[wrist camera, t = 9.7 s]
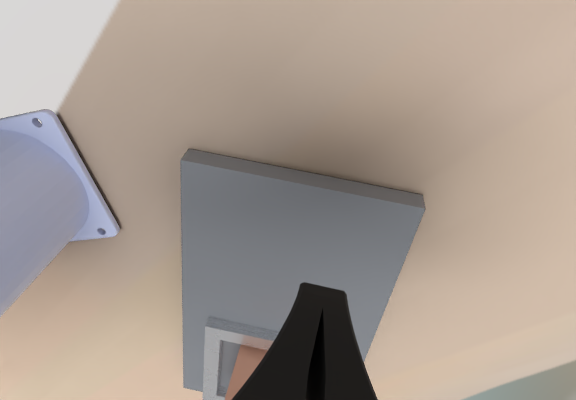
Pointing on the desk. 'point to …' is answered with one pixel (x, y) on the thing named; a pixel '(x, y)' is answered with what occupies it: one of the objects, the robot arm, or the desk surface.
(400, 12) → the desk surface
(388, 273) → the board
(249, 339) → the locating frame
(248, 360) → the block
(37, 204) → the robot arm
